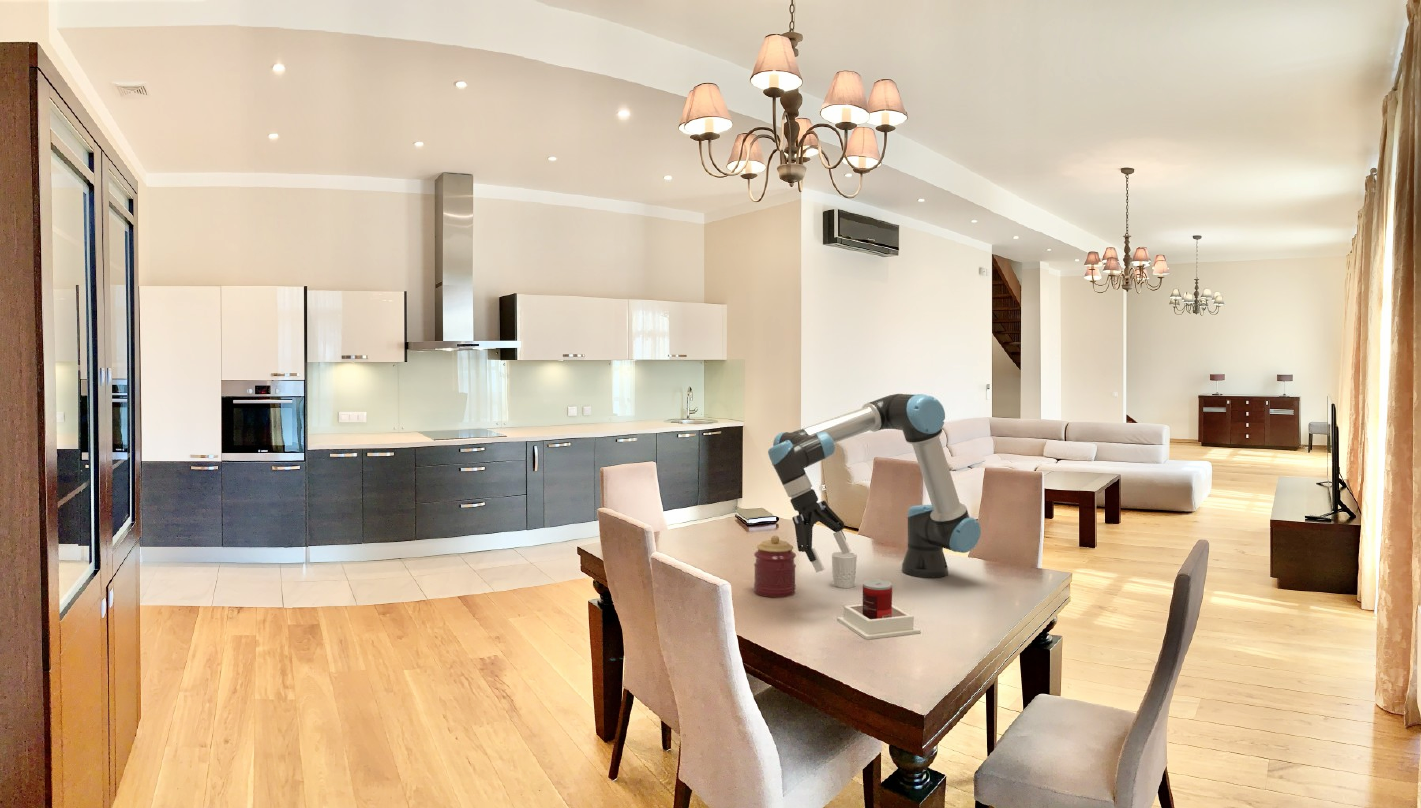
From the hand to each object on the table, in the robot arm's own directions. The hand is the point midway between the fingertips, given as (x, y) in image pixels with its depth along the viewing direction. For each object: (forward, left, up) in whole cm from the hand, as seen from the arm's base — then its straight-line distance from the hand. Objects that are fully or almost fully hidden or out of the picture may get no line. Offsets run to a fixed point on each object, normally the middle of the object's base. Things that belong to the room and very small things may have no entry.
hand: (834, 561), depth 215 cm
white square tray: (-6, +14, -15) cm, 21 cm away
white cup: (-16, -24, -15) cm, 33 cm away
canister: (+8, -24, -15) cm, 30 cm away
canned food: (-6, +14, -14) cm, 21 cm away
